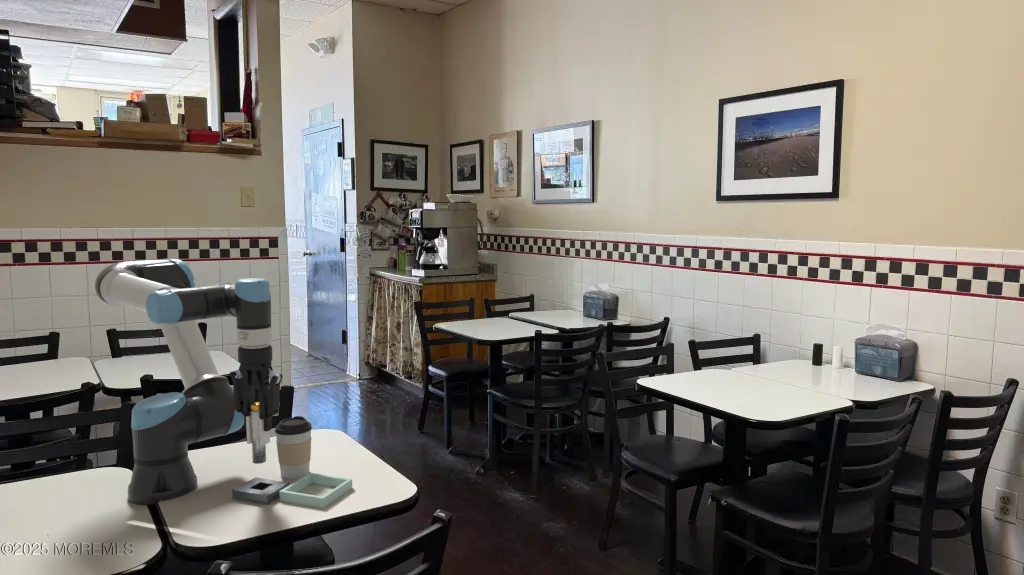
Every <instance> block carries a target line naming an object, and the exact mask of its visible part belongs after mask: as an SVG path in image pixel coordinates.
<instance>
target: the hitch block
mask: <svg viewBox="0 0 1024 575" xmlns="http://www.w3.org/2000/svg"><path fill="white" fill-rule="evenodd" d="M289 485H291V483H290V482H285V481H281V480H275V479H268V478H261V477H256V476H255V477H254V478H251V479H250V480H248V481H246V482H244V483H242V484H240V485H238V486H237V487H235V488H233V489H232V490H231V493H232V500H236V501H243V502H247V503H254V504H260V505H264V506H268V505H270V504H272V503H273V502H275V501H277V500H278V499H279V500H280V495H279V491H281V490H282V489H284V488H286V487H287V486H289Z"/></svg>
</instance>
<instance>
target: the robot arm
mask: <svg viewBox="0 0 1024 575" xmlns="http://www.w3.org/2000/svg"><path fill="white" fill-rule="evenodd" d="M194 280H195V277H194V274H193V272H192V269H191V268H190V266H189V265H188V263H186V262H185V261H183V260H182V259H177V258H161V259H149V260H148V259H147V260H145V259H144V260H124V261H123V260H122V261H118V262H115V263H112V264H109V265H108V266H105V268H103V269H102V270H101V271H100V272H99V273H98V275H97V277H96V278H95V280H94V281H95V282H94V290H95V293H96V295H97V297H98V298H99V299H100V300H101V301H102V302H103V303H106V304H107V305H110V306H113V307H119V308H121V307H122V308H123V307H129V308H132V309H135V310H138V311H141V312H144V313H146V314H147V317H148V318H149V319H150V321H151V323H153V324H156V325H159V326H160V329H161V332H162V333H163V336H164V339H165V341H166V344H167V346H168V349H169V351H170V354H171V356H172V359H173V361H174V364H175V367H176V369H177V371H178V375H179V376H180V380H181V382H182V384H183V386H184V387H183V388H184V389H183V391H182V392H178V391H177V392H176V391H175V392H174V391H171V392H167V393H166V392H164V393H159V394H156V395H152V396H148V397H146V398H144V399H142V400H139V401H138V402H137V403H136V404H135V405H134V406H133V408H132V410H131V423H130V428H131V433H132V434H131V435H132V446H133V448H132V449H133V460H134V462H133V463H134V465H133V466H134V467H133V469H132V474H131V479H130V482H129V484H128V486H127V497H128V498H127V499H128V501H130V503H133V504H137V505H155V504H158V503H159V502H165V501H169V500H173V499H177V498H180V497H182V496H185V495H187V494H189V493H190V492H191V493H192V492H193V491H194V490H196V488H197V487H198V477H197V474H196V473H195V470H194V468H193V465H192V463H191V461H190V458H189V448H188V446H189V445H190V444H194V443H198V442H203V441H207V440H210V439H214V438H218V437H224V436H228V434H232V433H235V432H238V431H239V430H240V429H241V428H242V427H243V426H244V429H246V444H247V445H250V444H251V445H252V432H251V406H250V404H251V403H255V398H256V391H257V395H258V402H259V403H260V409H261V415H262V416H261V417H260V418H259V438H260V446H263V445H265V444H266V445H268V444H269V443H271V433H270V432H271V430H273V429H272V428H273V427H272V425H273V423H272V417H273V416H276V415H278V414H279V413H280V398H281V393H280V392H281V382H282V380H283V377H284V376H283V374H282V373H276V372H275V371H274V370H273V367H272V361H273V346H272V345H271V344H272V342H273V332H272V299H271V298H272V294H271V287H270V286H271V285H270V282H269V281H268V279H266V278H257V277H256V278H255V277H253V278H251V277H250V278H240V279H237V280H236V282H235V284H234V283H230V282H225V283H222V282H220V283H217V284H214V285H207V286H199V287H198V286H196V283H195V281H194ZM223 317H233V318H234V317H235V318H236V334H237V345H239V347H238V348H237V361H238V363H239V367H238V369H235V370H232V371H230V372H229V376H230V379H231V380H232V386H231V384H230V382H229V380H228V378H227V377H226V376H224V375H220V373H219V372H218V370H217V368H216V365H215V363H214V361H213V357H212V356H211V352H210V351H209V349H208V346H207V344H206V341H205V339H204V337H203V334H202V332H201V329H200V327H199V325H198V322H197V321H198V320H207V319H214V318H215V319H217V318H223Z"/></svg>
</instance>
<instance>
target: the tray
mask: <svg viewBox="0 0 1024 575" xmlns="http://www.w3.org/2000/svg"><path fill="white" fill-rule="evenodd" d="M311 484H314V485H321V486H327V487H335V488H333V489H331V490H330V491H329V492H327V493H325V494H324V495H323V496H321V495H313V494H307V493H302V492H300V491H301V490H303V489H305V488H306V487H308V486H309V485H311ZM351 489H353V479H352V478H347V477H341V476H334V475H327V474H322V473H321V474H320V473H314V472H309V474H308V475H306V476H304V477H301V478H298V480H296V481H294V482H293V483H290V485H289V486H287V487H286V488H284V489H282V490H281V491H279V495H280V498H279V501H280V502H285V503H292V504H298V505H303V506H311V507H315V508H320V509H321V508H322V509H325V507H327V506H329V505H330V504H331V503H332V502H335V501H336V500H337V499H338V498H340V497H342V496H343V495H344V494H346V493H347V492H349V491H351Z"/></svg>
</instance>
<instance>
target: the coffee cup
mask: <svg viewBox="0 0 1024 575" xmlns="http://www.w3.org/2000/svg"><path fill="white" fill-rule="evenodd" d="M274 428H275V430H274V432H275V436H276V441H275V443H276V450H277V458H278V464H279V469H280V470H279V471H280V476H281V478H282V479H290V480H291V479H292V480H293V479H294V480H295V479H301V478H303V477H304V476H306V475H308V474H309V473H310V465H311V464H310V463H311V453H312V429H313V427H312V423H311V422H309V421H308V420H307V419H306V418H305V417H304V416H302V415H297V416H293V417H288V418H284V419H281V420H280V421H279V423H278V424H276V426H275V427H274Z"/></svg>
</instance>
